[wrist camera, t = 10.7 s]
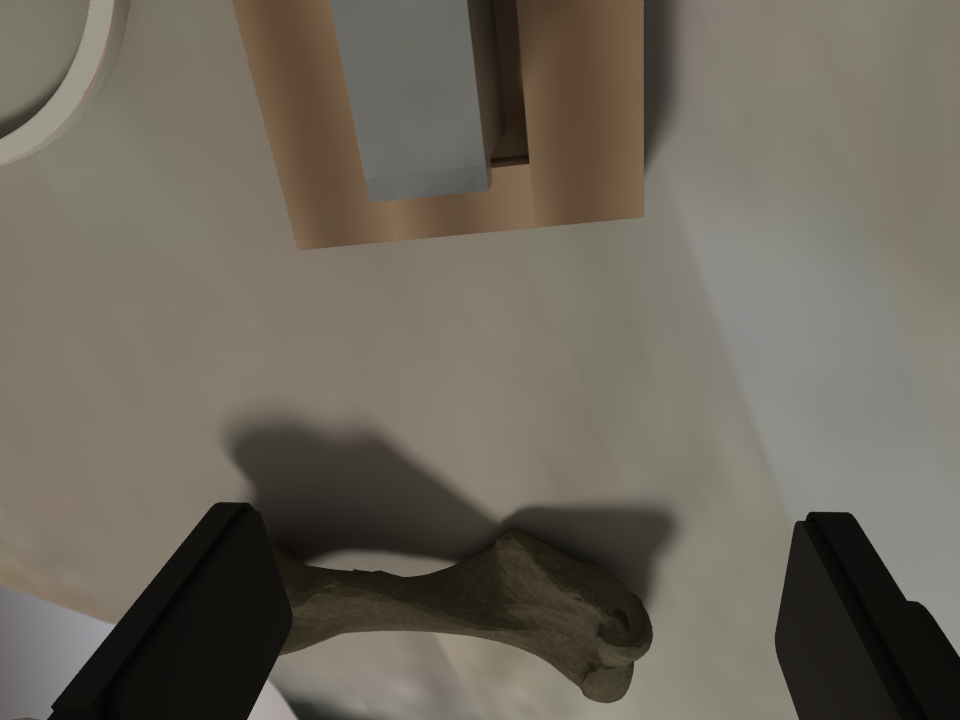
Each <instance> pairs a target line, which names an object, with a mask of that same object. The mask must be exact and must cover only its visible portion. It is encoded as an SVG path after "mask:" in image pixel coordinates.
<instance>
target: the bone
mask: <svg viewBox="0 0 960 720" xmlns="http://www.w3.org/2000/svg"><path fill="white" fill-rule="evenodd" d="M267 535H268V534H267ZM268 538H269V541H270V544H271V547H272V550H273V553H274V556H275V560H276V563H277V566H278V569H279V572H280V575H281V578H282V581H283V585H284V588H285V591H286V594H287V597H288V600H289V603H290V606H291V610H292V614H293V621H292V627H291V630H290V633H289V635H288V637H287V639H286V641H285V643H284V645H283V647H282V649H281V651H280V654H279V656H281V655H284V654H288V653H292V652H295V651H299V650H302V649H304V648H307V647H309V646H312V645H314V644H317V643H319V642H322V641H324V640H327V639H329V638H332V637H334V636H337V635H339V634H343V633H351V632H370V631H424V632H438V633H448V634H458V635H468V636H474V637H479V638H484V639H489V640H494V641H499V642H502V643H505V644H509V645H512V646H515V647H517V648H520V649H522V650H525V651H527V652H530V653H532V654H535V655H537V656H538V657H540V658H542V659H543V660H545V661H547V662H548V663H550V664H551V665H552V666H554V667H555V668H556V669H557V670H558V671H560V672H561V673H562V674H563V675H564V676H566V677H567V678H568V679H569V680H571V681H572V682H573V683H575V684H576V685H577V686H579V687H580V689H581V690H582V692H583V695H584V696H585V697H587V698H588V699H591V700H594V701H597V702H602V703H611V702H615V701H618V700H620V699H621V698H622V697H623V696H624V695H625V694H626V692H627V690H628V688H629V686H630V683H631V679H632V675H633V670H634V661H636V660H638V659H639V658H641V657H642V656H643V655H644V654H645V653H646V652H647V651H648V650H649V648H650V645H651V643H652V638H653V632H652V625H651V622H650V618H649V615H648V613H647V611H646V610H645V608H644V606H643V604H642V601H641V599H640V598H639V597H637V596H636V595H635V594H632V593H630V592H629V591H628V590H627V589H626V587H625V586H624V584H623V583H622V582H621V581H620V580H619V579H617V578H616V577H614V576H612V575H610V574H609V573H607V572H606V571H604V570H603V569H601V568H600V567H599V566H598V565H596V564H589V563H583V562H579V561H576V560H574V559H571V558H569V557H568V556H566V555H565V554H563V553H561V552H560V551H558V550H556V549H555V548H553V547H552V546H550V545H549V544H547V543H545V542H542V541H540V540H538V539H536V538H534V537H532V536H530V535H529V534H527V533H525V532H524V531H522V530H520V529H512V530H509V531H507V532H505V533H504V534H502V535H500V536H498V537H497V539H496V542H495V544H494V545H493V546H492V547H490V548H489V549H487V550H485V551H484V552H482V553H480V554H478V555H476V556H474V557H472V558H470V559H467V560H465V561H463V562H461V563H458V564H456V565H453V566H451V567H448V568H446V569H443V570H440V571H437V572H434V573H430V574H426V575H421V576H414V577H401V576H397V575H393V574H390V573H387V572H384V571H381V570H380V571H374V572H369V571H362V570H356V569H354V570H353V571H345V570H334V569H327V568H321V567H314V566H307V565H305V564H303V563H301V562H299V561H298V560H297V559H295V558H294V557H293V556H292V555H291V554H290V553H289V551H288V550H287V549H286V548H284V547H283V546H281V545H278V544H274V542H273V540H272V539H271V538H270V537H269V536H268Z"/></svg>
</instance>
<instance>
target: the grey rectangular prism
mask: <svg viewBox="0 0 960 720" xmlns="http://www.w3.org/2000/svg"><path fill="white" fill-rule="evenodd" d="M329 4H330V9H331V14H332V19H333V24H334V29H335V34H336V39H337V43H338V48H339V53H340V58H341V63H342V68H343V73H344V78H345V83H346V88H347V93H348V98H349V103H350V108H351V113H352V118H353V123H354V128H355V133H356V138H357V143H358V148H359V153H360V157H361V162H362V167H363V172H364V177H365V182H366V187H367V192H368V197H369V202H370V203H375V202H385V201H394V200H404V199H413V198H423V197H432V196H441V195H451V194H460V193H470V192H479V191H489V188H490V186H491V184H492V182H493V179H492V170H491V161H490V157H491V155H492V153H493V152H494V150H495V148H496V147H497V145H498V143H499V142H500V140H501V138H502V137H503V135H504V133H505V132H506V124H505V113H504V103H503V93H502V82H501V72H500V62H499V51H498V41H497V31H496V20H495V10H494V0H329Z"/></svg>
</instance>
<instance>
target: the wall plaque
mask: <svg viewBox="0 0 960 720" xmlns="http://www.w3.org/2000/svg"><path fill="white" fill-rule="evenodd" d="M129 5H130V0H90V5H89V12H88V17H87V21H86V26H85V30H84V33H83V37H82V40H81V43H80V46H79V49H78V52H77V54H76V57H75V59H74V61H73V64H72V66H71V68H70V70H69V72H68V74H67V76H66V77H65V79H64V81H63V82H62V84H61V85H60V87H59V88H58V90H57V91H56V92H55V94H54V95H53V97H52V98H51V99H50V100H49V101H48V102H47V104H46V105H45V106H44V107H43V108H42V109H41V110H40V111H39V112H38V113H37V114H36V115H35V116H34V117H32V118H31V119H30V120H29V121H28V122H26V123H25V124H24V125H22V126H21V127H19V128H18V129H17V130H15V131H13V132H11V133H10V134H8V135H6V136H4V137H2V138H0V166H2V165H6V164H9V163H11V162H14V161H17V160H19V159H22V158H24V157H27V156H29V155H31V154H33V153H35V152H37V151H39V150H41V149H42V148H44V147H46V146H48V145H49V144H51V143H52V142H54V141H55V140H57V139H58V138H59V137H61V136H62V135H63V134H64V133H66V132H67V131H68V130H69V129H70V128H71V127H73V126H74V125H75V124H76V123H77V122H78V121H79V120H80V119H81V117H82V116H83V115H84V114H85V113H86V112H87V110H88V109H89V108H90V107H91V105H92V104H93V103H94V101H95V100H96V98H97V97H98V95H99V94H100V92H101V91H102V89H103V87H104V85H105V83H106V81H107V80H108V78H109V75H110V73H111V71H112V69H113V67H114V64H115V61H116V59H117V56H118V53H119V50H120V47H121V44H122V40H123V37H124V32H125V28H126V24H127V18H128V12H129Z"/></svg>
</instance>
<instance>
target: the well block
mask: <svg viewBox="0 0 960 720" xmlns="http://www.w3.org/2000/svg"><path fill="white" fill-rule="evenodd" d="M232 2H233V5H234V9H235V13H236V17H237V21H238V24H239V28H240V32H241V36H242V39H243V43H244V47H245V51H246V55H247V58H248V62H249V66H250V70H251V74H252V77H253V81H254V85H255V89H256V93H257V96H258V100H259V104H260V108H261V111H262V115H263V119H264V123H265V127H266V130H267V134H268V138H269V142H270V146H271V149H272V153H273V157H274V161H275V164H276V168H277V172H278V176H279V180H280V183H281V187H282V191H283V195H284V199H285V202H286V206H287V210H288V214H289V218H290V221H291V225H292V229H293V233H294V236H295V240H296V244H297V248H298V250H306V249H317V248H327V247H338V246H348V245H358V244H369V243H379V242H390V241H400V240H411V239H421V238H432V237H442V236H452V235H463V234H473V233H484V232H494V231H505V230H515V229H525V228H536V227H546V226H557V225H567V224H578V223H588V222H598V221H609V220H619V219H630V218H640V217H644V0H494V10H495V20H496V31H497V41H498V51H499V62H500V72H501V82H502V93H503V103H504V113H505V124H506V132H505V133H504V135H503V137H502V138H501V140H500V142H499V143H498V145H497V147H496V148H495V150H494V152H493V153H492V155H491V157H490V161H491V170H492V179H493V182H492V184H491V186H490V188H489V191H479V192H470V193H460V194H451V195H441V196H432V197H423V198H413V199H404V200H394V201H385V202H375V203H370V202H369V197H368V192H367V187H366V182H365V177H364V172H363V167H362V162H361V157H360V153H359V148H358V143H357V138H356V133H355V128H354V123H353V118H352V113H351V108H350V103H349V98H348V93H347V88H346V83H345V78H344V73H343V68H342V63H341V58H340V53H339V48H338V43H337V39H336V34H335V29H334V24H333V19H332V14H331V9H330V4H329V0H232Z"/></svg>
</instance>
